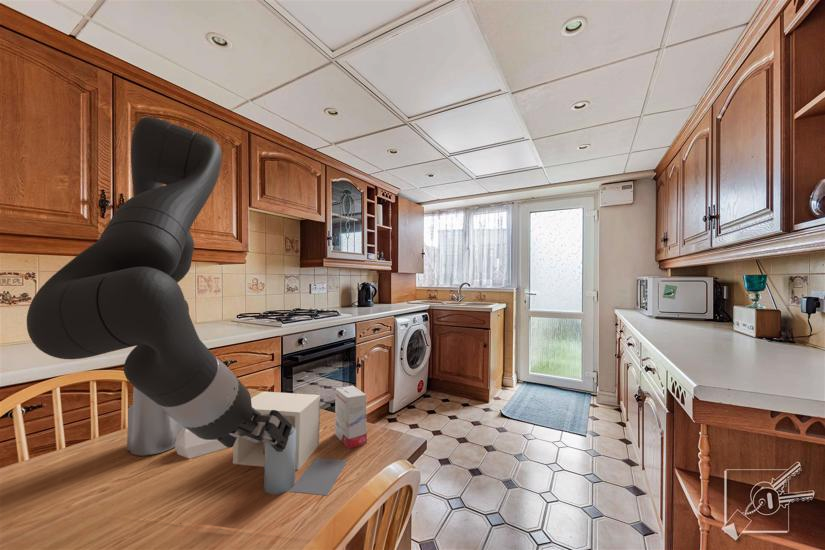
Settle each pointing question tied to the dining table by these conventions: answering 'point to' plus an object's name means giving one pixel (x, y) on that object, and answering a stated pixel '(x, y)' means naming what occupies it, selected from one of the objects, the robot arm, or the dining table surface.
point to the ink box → (350, 416)
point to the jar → (280, 466)
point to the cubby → (297, 412)
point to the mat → (319, 477)
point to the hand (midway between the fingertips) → (257, 443)
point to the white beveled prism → (195, 444)
